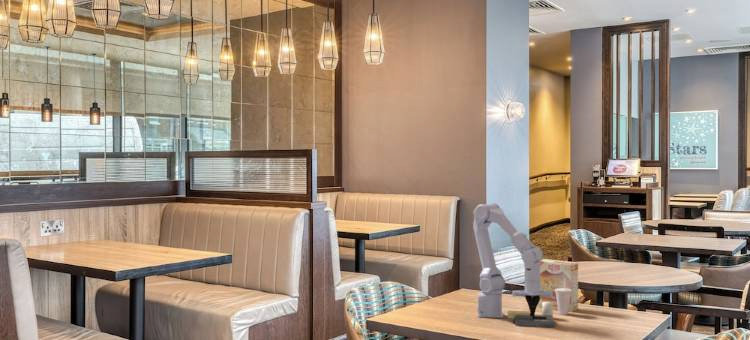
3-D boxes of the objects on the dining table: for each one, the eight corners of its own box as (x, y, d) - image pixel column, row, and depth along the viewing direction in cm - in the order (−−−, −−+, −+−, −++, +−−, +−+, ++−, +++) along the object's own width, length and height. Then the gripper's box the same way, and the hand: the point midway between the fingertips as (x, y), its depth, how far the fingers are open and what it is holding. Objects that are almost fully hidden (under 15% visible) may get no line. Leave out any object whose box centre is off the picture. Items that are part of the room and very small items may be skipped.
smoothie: (572, 316, 255) (572, 280, 255) (555, 315, 257) (555, 279, 256) (570, 312, 262) (571, 277, 261) (554, 311, 263) (554, 277, 263)
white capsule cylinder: (542, 319, 251) (542, 303, 251) (541, 316, 255) (541, 301, 254) (553, 319, 250) (553, 303, 250) (552, 317, 254) (552, 301, 254)
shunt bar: (508, 317, 244) (508, 312, 244) (507, 315, 247) (507, 310, 247) (529, 318, 243) (529, 313, 243) (529, 316, 246) (529, 311, 246)
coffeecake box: (537, 307, 271) (537, 260, 271) (544, 304, 277) (544, 258, 276) (571, 312, 262) (571, 264, 261) (578, 309, 267) (578, 262, 267)
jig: (515, 325, 240) (515, 317, 240) (513, 319, 250) (513, 311, 250) (554, 327, 238) (554, 318, 238) (551, 320, 248) (551, 312, 248)
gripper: (513, 281, 241) (513, 317, 242) (553, 282, 239) (553, 319, 239) (512, 277, 248) (512, 313, 248) (551, 278, 246) (551, 314, 246)
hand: (532, 315), depth 244 cm, fingers closed
